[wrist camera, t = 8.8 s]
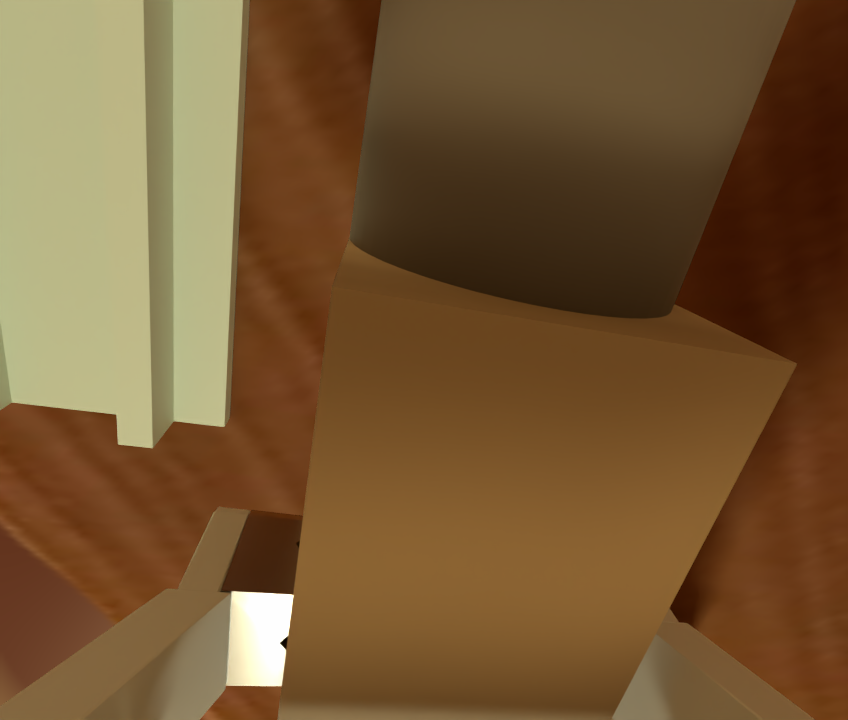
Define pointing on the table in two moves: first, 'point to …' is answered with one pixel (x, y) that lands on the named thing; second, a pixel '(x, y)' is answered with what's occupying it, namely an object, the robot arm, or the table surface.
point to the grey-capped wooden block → (525, 359)
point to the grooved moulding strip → (121, 207)
